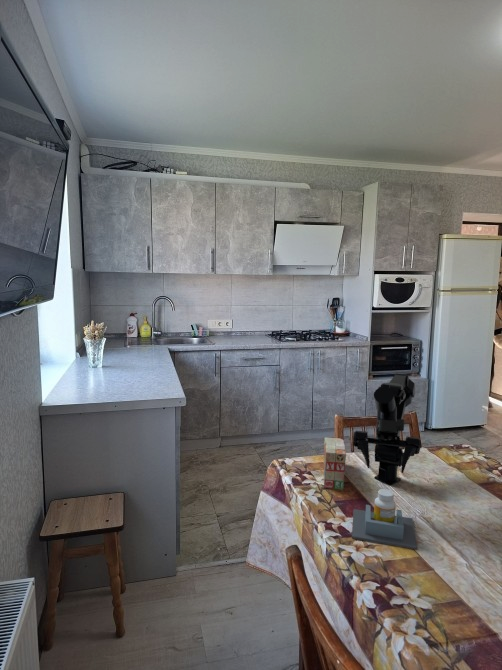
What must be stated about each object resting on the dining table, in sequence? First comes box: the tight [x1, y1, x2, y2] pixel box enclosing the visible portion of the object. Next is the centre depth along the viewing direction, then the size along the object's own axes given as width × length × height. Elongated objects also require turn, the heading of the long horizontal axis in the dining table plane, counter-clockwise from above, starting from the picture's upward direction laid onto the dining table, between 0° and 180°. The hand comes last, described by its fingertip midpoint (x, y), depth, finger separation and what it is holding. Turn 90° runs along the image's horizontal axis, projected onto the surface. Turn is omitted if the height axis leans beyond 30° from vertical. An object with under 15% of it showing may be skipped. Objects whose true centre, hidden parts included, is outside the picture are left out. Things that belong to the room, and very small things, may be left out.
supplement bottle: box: [373, 488, 397, 523], centre depth 117 cm, size 5×5×10 cm
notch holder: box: [351, 504, 418, 551], centre depth 117 cm, size 14×16×4 cm
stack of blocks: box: [323, 436, 347, 491], centre depth 149 cm, size 21×6×12 cm, turn 171°
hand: (385, 470), depth 124 cm, fingers open, 9 cm apart
